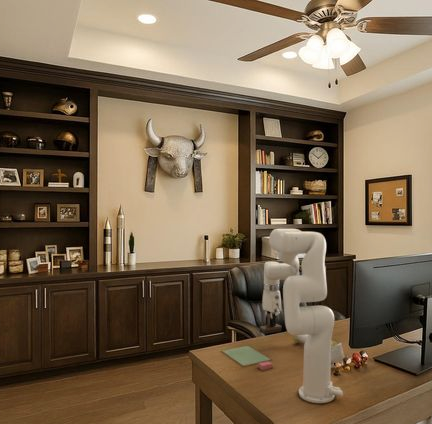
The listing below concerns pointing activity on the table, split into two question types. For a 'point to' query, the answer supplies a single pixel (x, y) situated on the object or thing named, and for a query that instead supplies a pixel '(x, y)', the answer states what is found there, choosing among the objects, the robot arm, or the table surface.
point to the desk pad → (246, 355)
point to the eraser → (265, 365)
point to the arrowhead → (337, 355)
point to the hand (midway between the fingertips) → (270, 325)
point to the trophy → (303, 337)
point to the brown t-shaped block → (269, 329)
